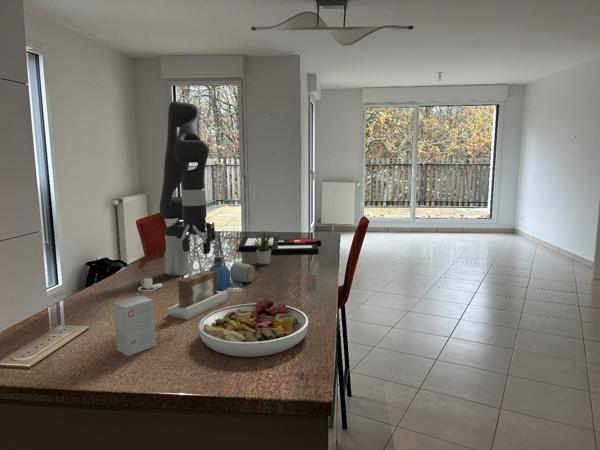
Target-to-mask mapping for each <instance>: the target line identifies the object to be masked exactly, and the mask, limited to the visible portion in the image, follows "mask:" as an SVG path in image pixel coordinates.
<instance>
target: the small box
mask: <svg viewBox="0 0 600 450" xmlns="http://www.w3.org/2000/svg"><path fill="white" fill-rule="evenodd" d="M112 308H113V309H112V311H113V321H114V333H115V344H116V351H118V352H120V353H122V354H124V355H126V356H127V357H130V356H133V355H135V354H138V353H141V352H143V351H146V350H148V349H151V348H154V347H156V346H157V341H156V340H157V339H156V336H157V335H156V325H155V312H154V311H155V310H154V299H152V298H149V297H147V296H144V295H137V296H133V297H128V298H125V299H122V300H118V301H115V302H112Z"/></svg>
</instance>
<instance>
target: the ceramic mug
mask: <svg viewBox="0 0 600 450" xmlns="http://www.w3.org/2000/svg"><path fill="white" fill-rule="evenodd" d="M229 271H230V281H232V282H236V283H237V282H238V283H252V282H253V281H254V279H255V277H256V269H255V267H254V265H252V264H248V263H243V262H237V261H236V262H233V263H232V265H231V266H230V269H229Z"/></svg>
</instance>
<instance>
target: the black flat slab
mask: <svg viewBox="0 0 600 450" xmlns="http://www.w3.org/2000/svg"><path fill="white" fill-rule="evenodd" d="M256 237H257V238H258V240H259V242H260V243H261V236H256ZM272 237H273V236H271V237H269V238H270V239H271V238H272ZM266 238H267V237H266ZM254 240H255V241H256V242H257V243H258V244H259V242H258V241H257V239H256V238H255V237H254V236H253V237H251V236H250V237H249V236H246V237H244V236H243V238H242V240H241V241H240V243H239V245H238V246H237V247H238V249H237V250H238V252H256V250H257V249H258V247H259V246H258V247H257V246H255V245H253V244H255V241H254ZM275 241H277V242H275ZM268 242H269V243H270V242H274V243H270V244H272V245H270V246H269V245H268V247H267V249H271V256H272V255H318V254H319V246H320V247H321V246H322V240H321V239H315V238H312V239H311V238H310V237H308V238H305V237H304V238H302V237H301V238H299V237H298V238H296V237H295V238H293V239H280V237H279V236H274V237H273V238H272V239H271V240H269V241H268ZM269 243H268V244H269ZM256 245H257V244H256ZM259 245H260V244H259Z"/></svg>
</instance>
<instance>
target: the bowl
mask: <svg viewBox="0 0 600 450" xmlns="http://www.w3.org/2000/svg"><path fill="white" fill-rule="evenodd" d="M308 328H309V318H308V316H307V315H306V314H305V313H304V311H302V310H300V309H298V308H295V307H291V306H287V305H286V304H285V303H284V302H282V301H279V302H276V303H274V301H273V300H272V299H271V298H270V297H267V296H264V297H261V298H260V299H259V300H258V301H257V302H255V303H254V302H253V303H244V304H236V305H230V306H226V307H224V308H220V309H217V310H214V311H213V312H209V314H207V315H205V316H204V317H203V318H202V319H201V320H200V321H199V323H198V332H199V333H198V334H199V336H200V338H201V340H202V342H203V343H204V344H205V345H206V346H207V347H208V348H210V349H211V350H213V351H215V352H217V353H220V354H222V355H223V354H224V355H228V356H234V357H245V358H246V357H247V358H249V357H250V358H253V357H263V356H270V355H274V354H279V353H281V352H284V351H287V350H290V349H291V348H293V347H295V346H296V345H298V344H299V343H301V341H302V340H303V339H304V338H305V336H306V334H307V332H308Z"/></svg>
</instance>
